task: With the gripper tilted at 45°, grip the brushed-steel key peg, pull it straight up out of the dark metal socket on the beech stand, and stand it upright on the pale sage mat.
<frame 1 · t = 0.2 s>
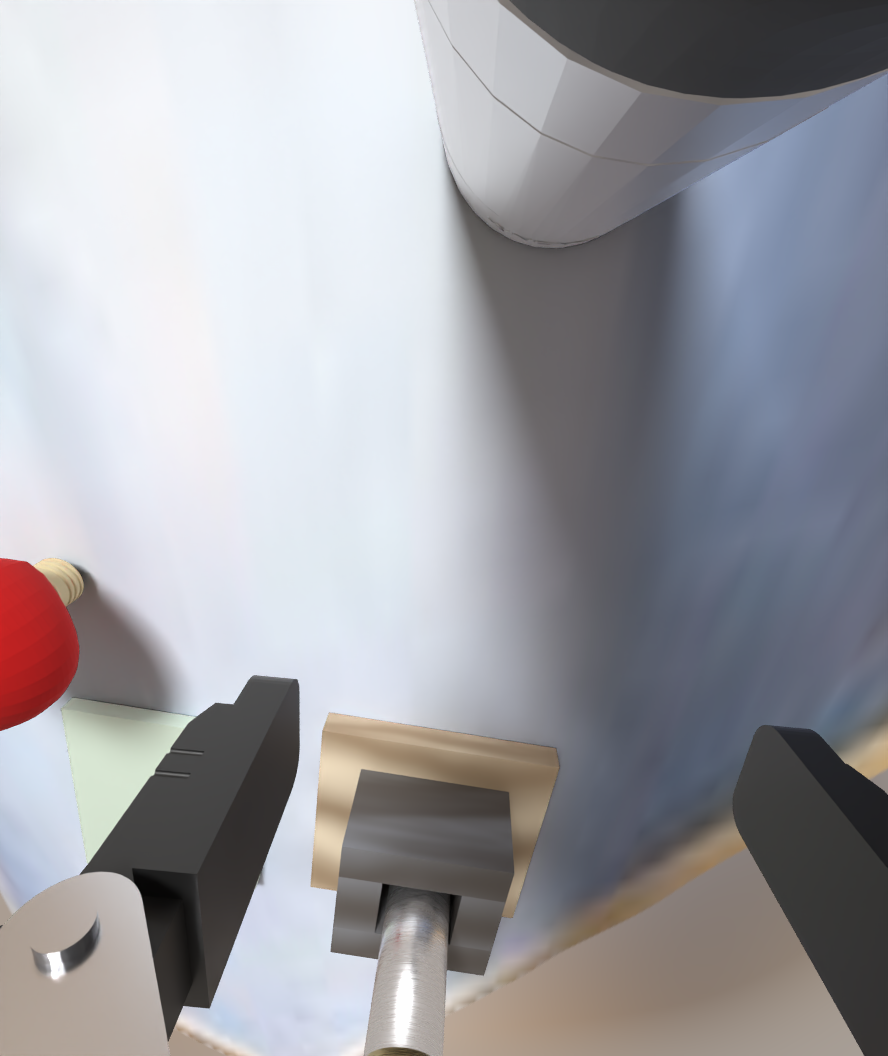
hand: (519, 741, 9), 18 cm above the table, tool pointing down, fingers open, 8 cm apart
key peg: (425, 831, 34), point 1 cm above the table, touching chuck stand
sage mat: (173, 793, 36), on the table
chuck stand: (427, 811, 35), on the table
red rounded lobed piece: (73, 571, 30), on the table
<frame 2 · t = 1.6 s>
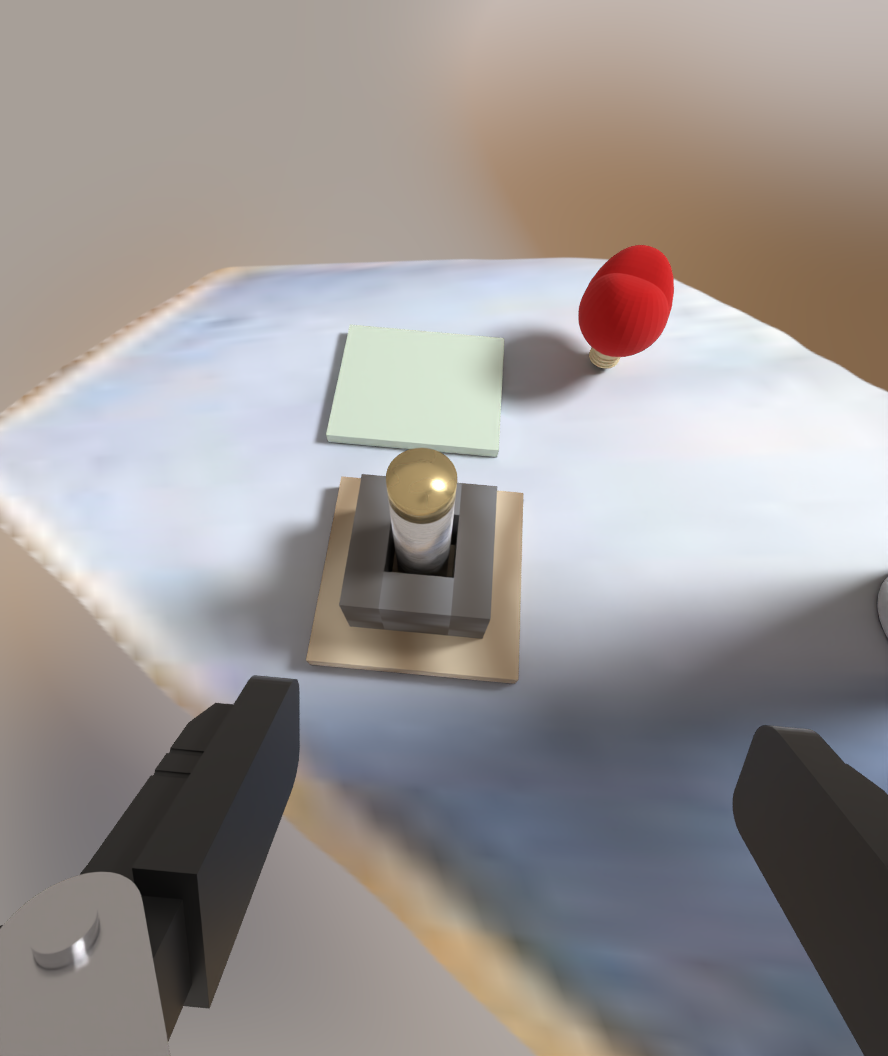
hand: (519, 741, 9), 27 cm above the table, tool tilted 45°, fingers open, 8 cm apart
key peg: (422, 570, 38), point 1 cm above the table, touching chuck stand
sage mat: (420, 391, 46), on the table
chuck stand: (422, 577, 39), on the table
red rounded lobed piece: (600, 365, 49), on the table
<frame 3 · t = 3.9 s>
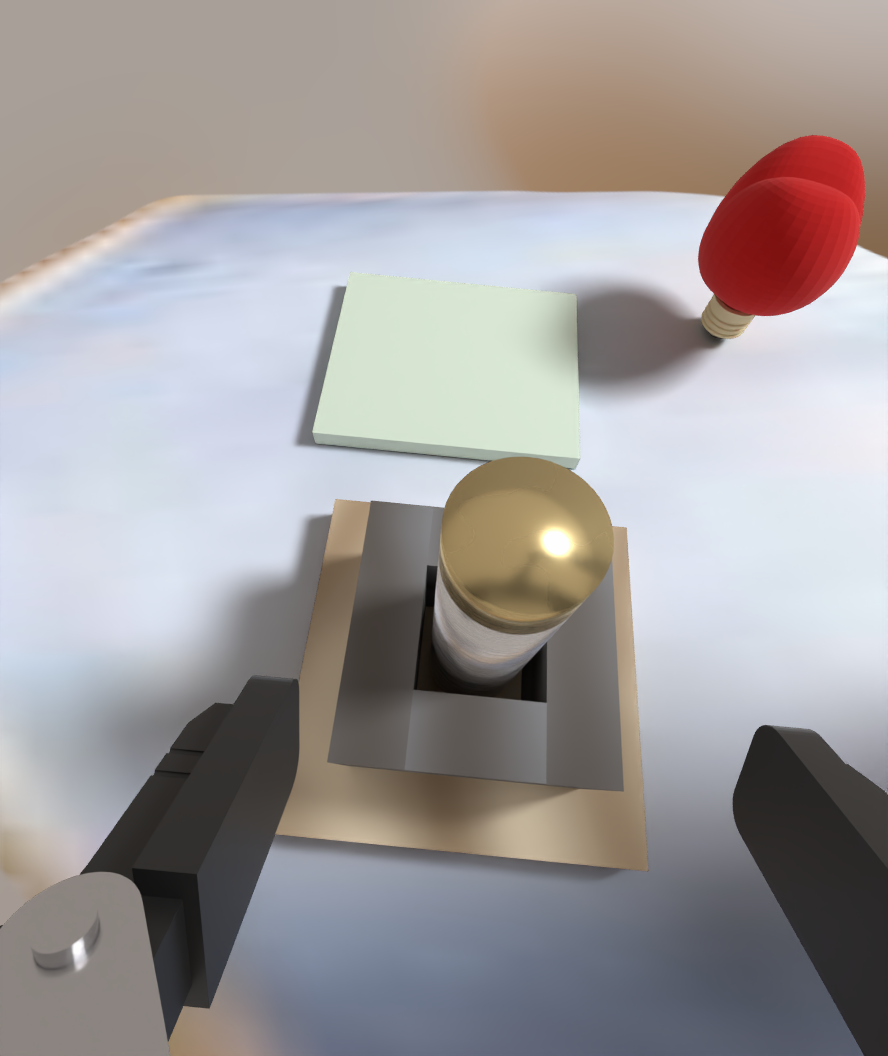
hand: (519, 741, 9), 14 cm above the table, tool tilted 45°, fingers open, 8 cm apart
key peg: (471, 660, 23), point 2 cm above the table, touching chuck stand
sage mat: (454, 369, 31), on the table
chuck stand: (468, 667, 24), on the table
red rounded lobed piece: (714, 335, 33), on the table
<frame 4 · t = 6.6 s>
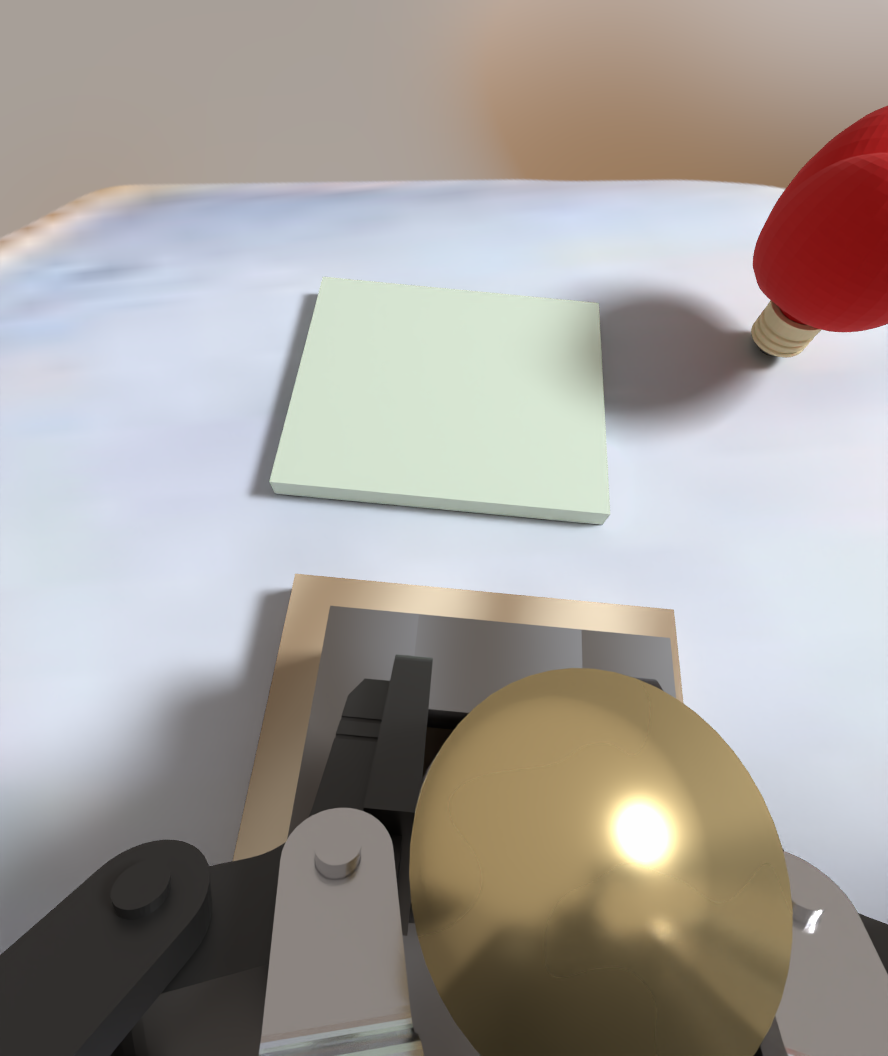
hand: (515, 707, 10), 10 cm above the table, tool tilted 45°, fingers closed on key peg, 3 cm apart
key peg: (472, 805, 17), point 2 cm above the table, touching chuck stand, gripper
sage mat: (450, 397, 25), on the table
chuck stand: (468, 803, 18), on the table
red rounded lobed piece: (765, 352, 28), on the table
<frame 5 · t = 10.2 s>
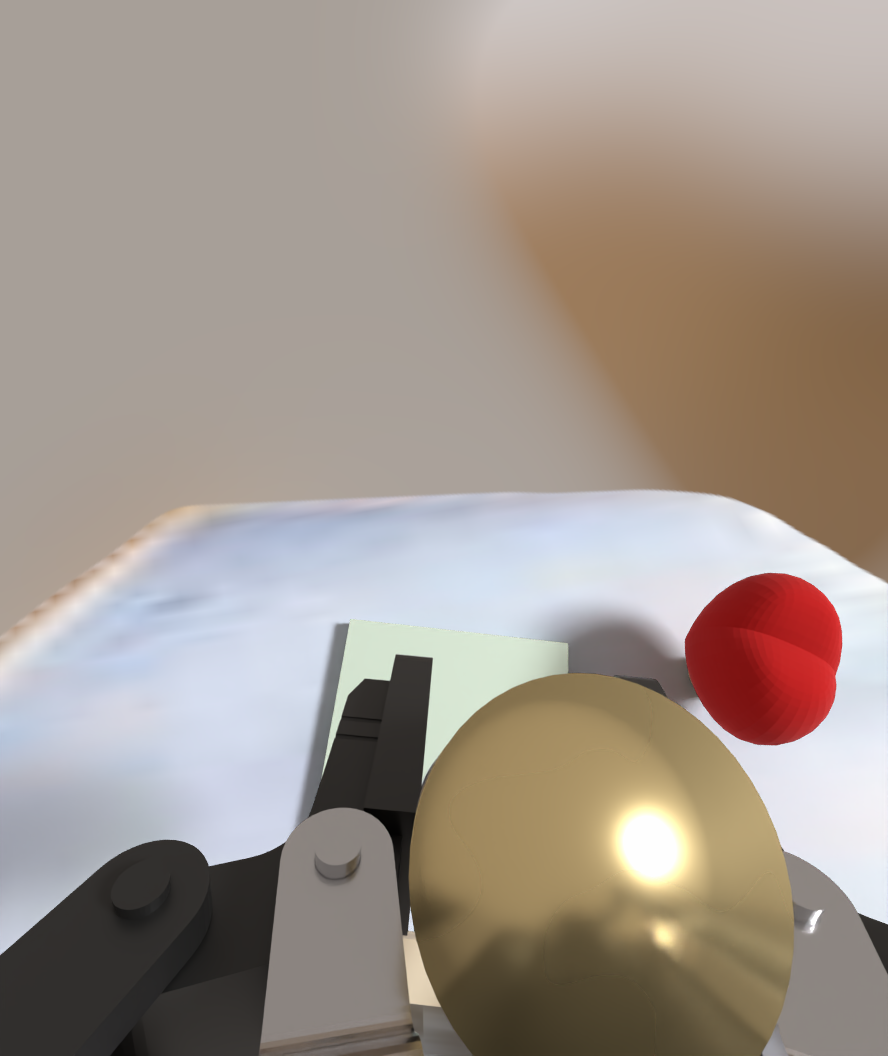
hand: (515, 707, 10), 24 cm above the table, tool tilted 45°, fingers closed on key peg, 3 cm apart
key peg: (472, 806, 17), point 16 cm above the table, touching gripper
sage mat: (449, 732, 32), on the table
red rounded lobed piece: (701, 678, 35), on the table
when the fingers open (10 cm above the table, at t = 14.0 s): key peg stays where it is, resting on sage mat.
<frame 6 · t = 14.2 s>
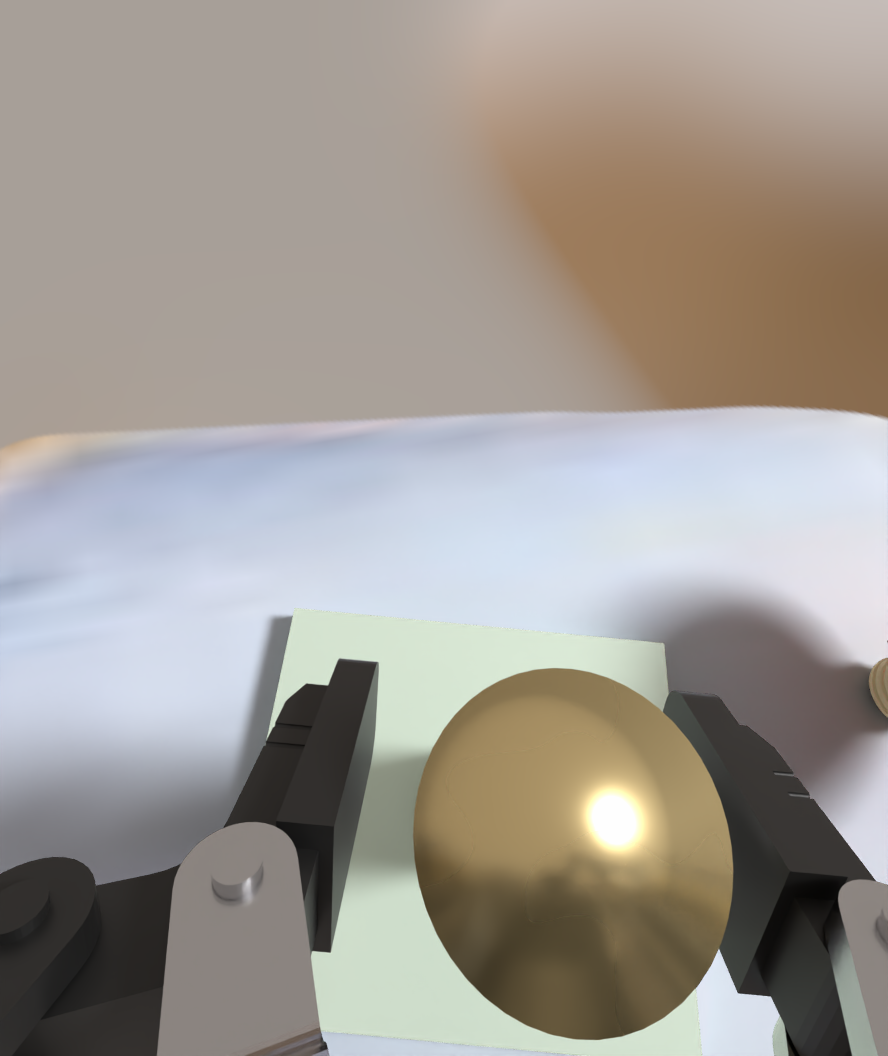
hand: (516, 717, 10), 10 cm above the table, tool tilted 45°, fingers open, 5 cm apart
key peg: (470, 806, 17), point 1 cm above the table, touching sage mat
sage mat: (466, 802, 18), on the table
red rounded lobed piece: (883, 697, 21), on the table
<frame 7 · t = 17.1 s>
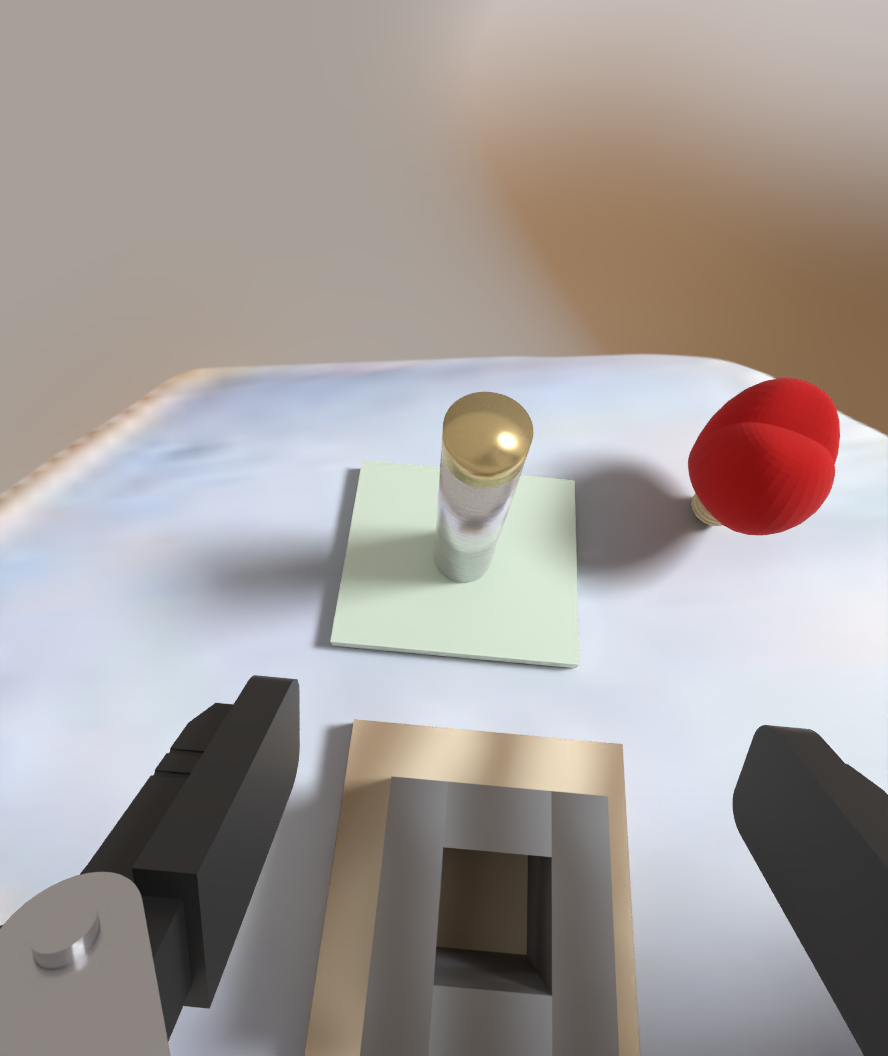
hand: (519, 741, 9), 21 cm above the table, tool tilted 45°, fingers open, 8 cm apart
key peg: (462, 555, 32), point 1 cm above the table, touching sage mat
sage mat: (461, 560, 33), on the table
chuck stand: (477, 886, 26), on the table
red rounded lobed piece: (703, 514, 36), on the table
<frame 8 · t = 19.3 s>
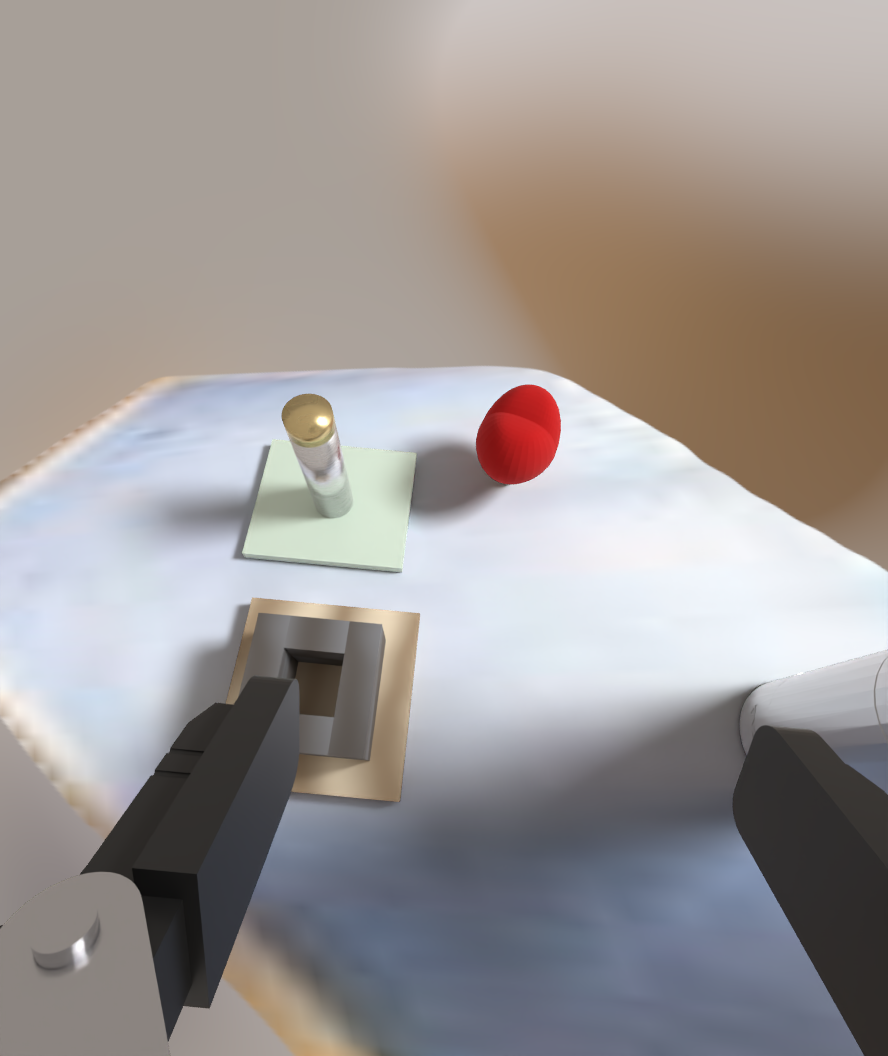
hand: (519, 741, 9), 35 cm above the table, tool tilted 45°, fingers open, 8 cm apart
key peg: (334, 501, 49), point 1 cm above the table, touching sage mat
sage mat: (335, 505, 50), on the table
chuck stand: (323, 695, 43), on the table
red rounded lobed piece: (506, 477, 52), on the table
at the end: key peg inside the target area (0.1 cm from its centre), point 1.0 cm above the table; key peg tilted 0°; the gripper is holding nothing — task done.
